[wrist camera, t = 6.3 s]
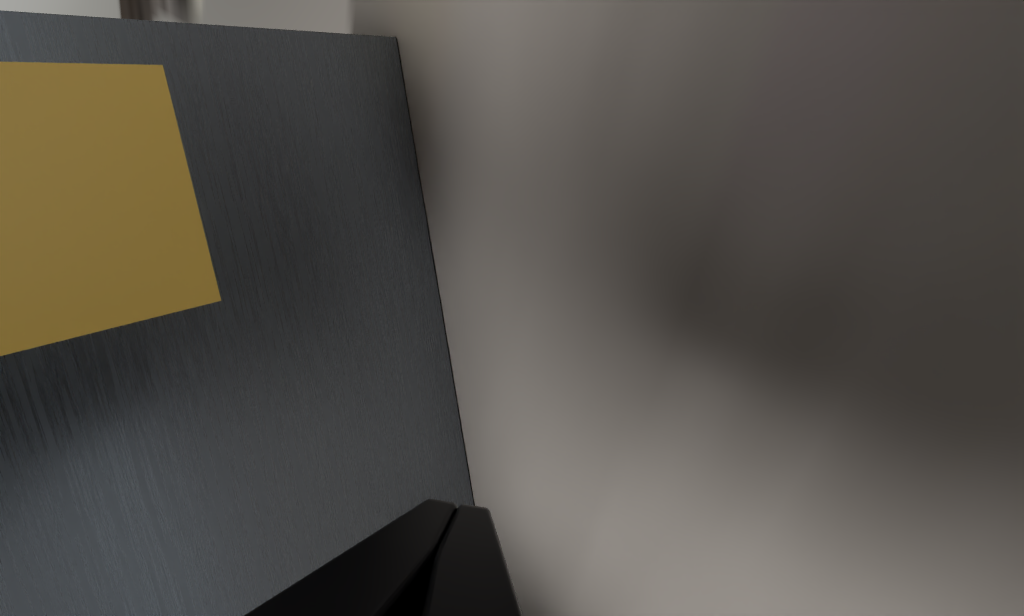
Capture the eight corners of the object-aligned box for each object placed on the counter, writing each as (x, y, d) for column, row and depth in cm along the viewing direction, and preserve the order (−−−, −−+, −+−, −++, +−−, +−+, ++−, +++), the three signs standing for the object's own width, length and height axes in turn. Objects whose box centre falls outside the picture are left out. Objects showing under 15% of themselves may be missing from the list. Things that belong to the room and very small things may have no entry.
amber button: (163, 64, 10) (-195, 57, 7) (221, 300, 11) (-77, 375, 8) (85, 110, 13) (-188, 117, 10) (135, 291, 14) (-103, 344, 11)
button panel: (396, 37, 15) (-382, -15, 7) (507, 711, 19) (111, 1143, 12) (305, 72, 18) (-323, 63, 10) (422, 654, 22) (56, 969, 14)
